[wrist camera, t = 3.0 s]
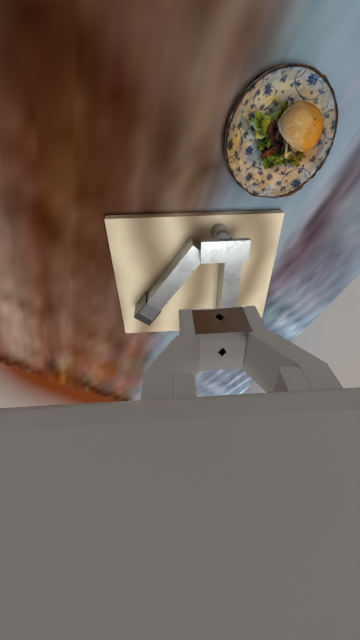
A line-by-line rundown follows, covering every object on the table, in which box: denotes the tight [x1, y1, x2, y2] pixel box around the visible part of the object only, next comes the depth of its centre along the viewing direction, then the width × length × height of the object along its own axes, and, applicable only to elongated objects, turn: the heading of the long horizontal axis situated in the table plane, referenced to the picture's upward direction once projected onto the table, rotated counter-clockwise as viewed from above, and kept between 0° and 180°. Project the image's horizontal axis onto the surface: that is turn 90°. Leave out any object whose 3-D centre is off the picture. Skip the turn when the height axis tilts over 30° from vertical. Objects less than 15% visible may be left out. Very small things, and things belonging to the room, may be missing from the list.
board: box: [104, 210, 285, 333], centre depth 38 cm, size 22×18×2 cm
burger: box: [224, 64, 338, 198], centre depth 26 cm, size 12×12×8 cm
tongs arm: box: [134, 237, 200, 326], centre depth 36 cm, size 13×3×3 cm, turn 143°
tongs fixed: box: [200, 224, 251, 308], centre depth 36 cm, size 16×6×5 cm, turn 1°
